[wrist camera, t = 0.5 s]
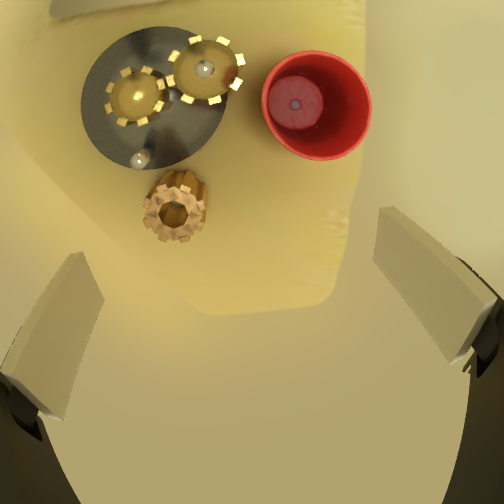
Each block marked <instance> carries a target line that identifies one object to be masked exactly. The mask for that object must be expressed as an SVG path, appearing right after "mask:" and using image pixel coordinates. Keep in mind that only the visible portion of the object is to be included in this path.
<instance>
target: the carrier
mask: <svg viewBox="0 0 504 504" xmlns="http://www.w3.org/2000/svg"><path fill="white" fill-rule="evenodd" d="M229 44H230V40H228V39H225V38H223V37H221V36H219V38H218V39H217V41H211V40H203V39H202V38H201V35H199V36H197V35H195V34H193V33H191V32H189V31H186V30H183V29H179V28H174V27H151V28H146V29H142V30H138V31H135V32H133V33H130V34H128V35H126V36H124V37H123V38H121V39H119V40H118V41H116V42H115V43H113V44H112V45H111V46H110V47H109V48H107V49H106V50H105V51H104V52H103V53H102V55H101V56H100V57H99V58H98V59H97V61H96V62H95V63H94V65H93V66H92V68H91V70H90V72H89V74H88V76H87V78H86V81H85V84H84V88H83V92H82V98H81V114H82V120H83V124H84V127H85V130H86V132H87V134H88V137H89V138H90V140H91V141H92V143H93V144H94V146H95V147H96V148H97V149H98V150H99V151H100V152H101V153H102V154H103V155H104V156H106V157H107V158H109V159H110V160H112V161H114V162H116V163H118V164H120V165H123V166H125V167H129V168H133V169H134V170H142V169H144V170H147V169H158V168H164V167H167V166H170V165H173V164H176V163H178V162H180V161H182V160H184V159H186V158H187V157H189V156H191V155H192V154H193V153H195V152H196V151H197V150H199V149H200V148H201V147H202V146H203V145H204V144H205V143H206V142H207V141H208V139H209V138H210V137H211V136H212V135H213V133H214V131H215V130H216V128H217V127H218V125H219V123H220V121H221V119H222V116H223V113H224V110H225V106H226V101H227V91H228V90H229V91H231V92H235V91H236V90H237V89H238V87H239V86H240V84H241V83H242V80H240V79H238V78H236V77H237V74H238V71H240V70H241V69H242V67H243V66H244V65H245V62H244V58H243V55H242V54H238V55H235V54H234V53H233V52H232V50H231V49H230V48H229Z"/></svg>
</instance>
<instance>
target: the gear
mask: <svg viewBox="0 0 504 504" xmlns="http://www.w3.org/2000/svg"><path fill="white" fill-rule="evenodd" d="M194 177H195V173H193V172H191V171H189V170H187V172H186V174H184V173H182V172H179V173H176V174H175V171H174V170H171V171H169V172H166V173H165V175H164V176H163V178H162V179H161V181H160V182H156V183H155V184H154V186H153V187H152V189H151V190H150V192H149V193H148V195H147V196H146V198H145V200H144V203H143V206H142V207H145V208H147V210H146V212H145V215H146V216H145V218H144V220H143V222H144V224H145V226H146V228H147V229H148V228H152V230H153V232H154V233H156V234H158V235H159V236H158V239H159V240H161V241H164V242H167V239H170V240H173V241H174V240H177V239H179V240H180V243H183V242H186V241H189V240H190V235H193V234H194V232H195V230H198V231H201V230H202V228H203V226H204V224H205V214H206V199H207V189H206V186H205V184H201V185H200V183H199V181H198V180H197V179H195V178H194ZM172 200H174V201H177V202H179V203H181V204H184V205H185V207H182V208H177V207H175V206H173V205H170V202H169V201H172Z"/></svg>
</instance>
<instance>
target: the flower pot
mask: <svg viewBox="0 0 504 504" xmlns="http://www.w3.org/2000/svg"><path fill="white" fill-rule="evenodd" d="M261 108H262V113H263V116H264V119H265V122H266V124H267V126H268V128H269V130H270V131H271V133H272V134H273V135H274V137H275V138H276V139H277V140H278V142H280V143H281V144H282V145H283V146H284V147H285V148H286V149H288V150H289V151H291V152H292V153H294V154H296V155H298V156H300V157H303V158H306V159H310V160H317V161H327V160H334V159H338V158H341V157H343V156H345V155H347V154H348V153H350V152H351V151H353V150H354V149H355V148H356V147H357V146H358V145H359V144H360V143H361V141H362V140H363V138H364V137H365V135H366V133H367V131H368V128H369V125H370V121H371V113H372V105H371V98H370V94H369V91H368V88H367V86H366V83H365V82H364V80H363V78H362V77H361V76H360V74H359V73H358V72H357V71H356V70H355V69H354V68H353V67H352V66H351V65H350V64H349V63H348V62H346V61H345V60H343V59H342V58H340V57H338V56H336V55H333V54H330V53H327V52H323V51H315V50H309V51H302V52H298V53H294V54H292V55H290V56H288V57H286V58H284V59H282V60H281V61H280V62H279V63H277V64H276V65H275V66H274V67H273V69H272V70H271V71H270V73H269V74H268V76H267V78H266V80H265V82H264V85H263V88H262V93H261Z"/></svg>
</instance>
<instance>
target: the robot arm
mask: <svg viewBox="0 0 504 504" xmlns="http://www.w3.org/2000/svg"><path fill="white" fill-rule="evenodd" d="M373 261H374V262H375V264H376V265H377V266H378V267H379V268H380V270H381V271H382V272H383V273H384V274H385V276H386V277H387V278H388V280H389V281H390V282H391V283H392V284H393V286H394V287H395V288H396V290H397V291H398V292H399V293H400V295H401V296H402V297H403V299H404V300H405V301H406V303H407V304H408V305H409V307H410V308H411V309H412V311H413V312H414V313H415V315H416V316H417V318H418V319H419V320H420V322H421V323H422V324H423V326H424V327H425V329H426V330H427V331H428V333H429V334H430V336H431V337H432V338H433V340H434V342H435V343H436V345H437V346H438V347H439V349H440V350H441V352H442V354H443V355H444V357H445V358H446V360H447V361H448V363H449V364H450V365H451V364H452V363H454V362H456V361H458V360H460V359H462V358H463V357H464V356H465V355H466V353H467V352H468V350H469V349H470V347H471V346H472V347H473V349H474V350H475V351H474V353H473V354H472V356H471V357H470V359H469V360H468V362H467V363H466V365H465V366H464V368H463V372H465V371H466V370H467V368H468V367H469V366H470V365H471V369H470V370H469V372H468V373H470V374H471V375H470V387H469V397H468V405H467V412H466V418H465V424H464V429H463V434H462V440H461V444H460V448H459V452H458V456H457V460H456V463H455V467H454V470H453V474H452V477H451V480H450V483H449V486H448V489H447V492H446V494H445V497H444V500H443V502H442V504H504V300H503V299H502V298H501V297H500V296H499V295H498V294H497V293H496V292H495V291H494V290H493V289H492V288H491V287H490V286H489V285H488V284H487V283H486V282H485V281H484V280H483V279H482V278H481V277H479V275H478V274H477V273H476V272H475V271H474V270H472V268H471V267H470V266H469V265H468V264H467V263H466V262H464V261H463V260H461V259H460V258H458V257H456V256H454V255H453V254H452V253H451V252H450V251H449V250H447V249H446V248H445V247H444V246H443V245H442V244H441V243H439V242H438V241H437V240H436V239H435V238H433V237H432V236H431V235H430V234H429V233H427V232H426V231H425V230H424V229H422V228H421V227H420V226H418V225H417V224H416V223H415V222H414V221H412V220H411V219H409V218H408V217H407V216H406V215H404V214H403V213H402V212H400V211H399V210H398V209H396V208H395V207H394V206H391V207H381V208H380V210H379V219H378V227H377V235H376V243H375V250H374V256H373ZM103 303H104V298H103V295H102V293H101V291H100V289H99V287H98V285H97V283H96V281H95V279H94V277H93V275H92V272H91V270H90V268H89V265H88V263H87V261H86V259H85V256H84V254H83V252H78V253H73V254H70V255H69V256H68V257H67V259H66V260H65V261H64V263H63V264H62V266H61V267H60V268H59V270H58V271H57V273H56V274H55V275H54V277H53V278H52V279H51V281H50V282H49V284H48V285H47V287H46V288H45V290H44V291H43V293H42V294H41V296H40V297H39V299H38V301H37V302H36V304H35V305H34V307H33V309H32V310H31V312H30V313H29V315H28V317H27V319H26V320H25V322H24V324H23V325H22V327H21V328H20V330H19V332H18V333H17V335H16V338H15V339H14V341H13V343H12V346H11V347H10V349H9V351H8V353H7V355H6V357H5V359H4V361H3V363H2V365H1V367H0V504H81V503H80V502H79V500H78V498H77V496H76V494H75V493H74V491H73V489H72V487H71V485H70V483H69V482H68V480H67V478H66V476H65V474H64V472H63V470H62V468H61V466H60V463H59V461H58V459H57V457H56V455H55V452H54V450H53V447H52V445H51V442H50V440H49V437H48V435H47V432H46V429H45V426H44V424H43V421H42V420H41V418H40V417H39V416H38V415H37V414H38V411H39V410H40V411H41V412H43V413H44V414H45V415H46V416H47V417H48V418H51V419H56V420H60V421H63V420H64V417H65V413H66V409H67V405H68V401H69V398H70V394H71V390H72V387H73V384H74V381H75V378H76V375H77V372H78V368H79V365H80V362H81V359H82V357H83V354H84V351H85V348H86V345H87V343H88V340H89V337H90V335H91V332H92V330H93V327H94V325H95V322H96V320H97V317H98V314H99V312H100V310H101V307H102V305H103Z"/></svg>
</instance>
